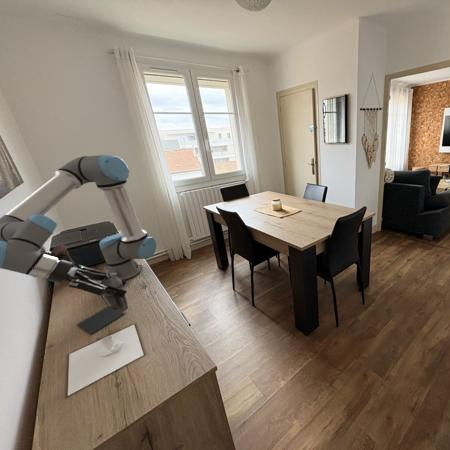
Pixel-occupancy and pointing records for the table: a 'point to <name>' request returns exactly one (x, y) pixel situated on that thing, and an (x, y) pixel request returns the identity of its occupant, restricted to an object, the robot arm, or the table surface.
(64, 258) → the statue
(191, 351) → the table surface
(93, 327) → the mat
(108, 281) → the beverage cup
